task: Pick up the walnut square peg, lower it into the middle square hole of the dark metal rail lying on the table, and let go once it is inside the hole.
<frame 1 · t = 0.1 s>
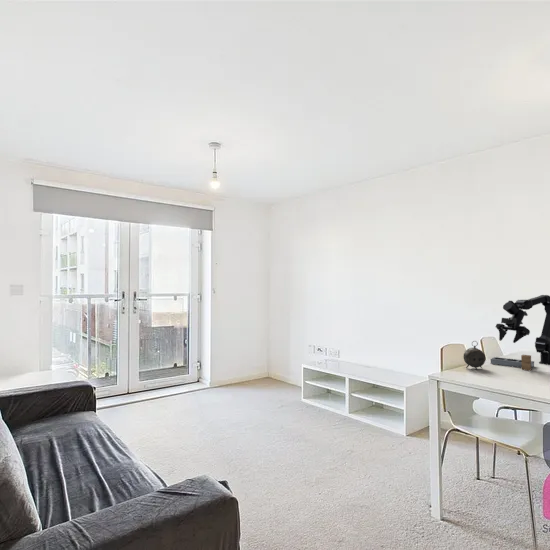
hand: (506, 341, 229), 15 cm above the table, tool tilted 30°, fingers open, 9 cm apart
square peg: (526, 369, 222), on the table
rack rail: (512, 365, 234), on the table
alarm clock: (475, 369, 224), on the table
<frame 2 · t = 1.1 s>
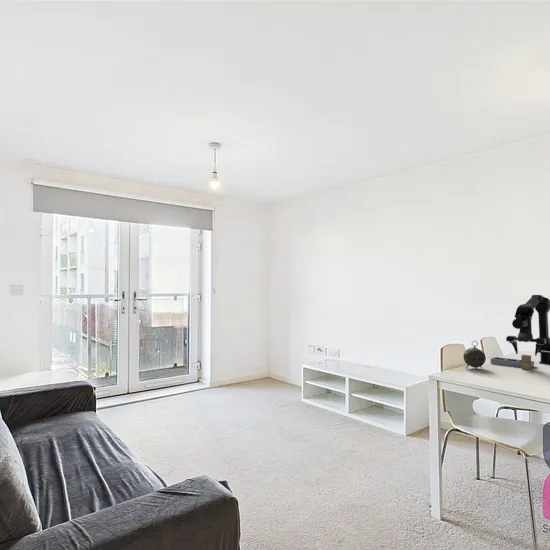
hand: (526, 354, 222), 8 cm above the table, tool pointing down, fingers open, 9 cm apart
nothing on the table moved.
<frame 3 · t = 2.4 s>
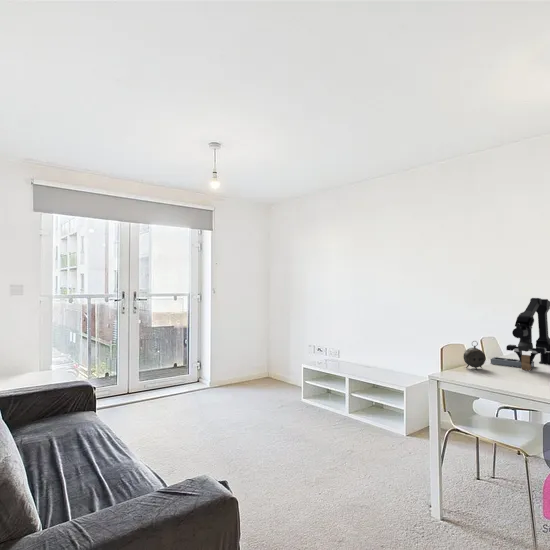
hand: (526, 364, 222), 3 cm above the table, tool pointing down, fingers closed on square peg, 4 cm apart
square peg: (526, 369, 222), on the table, touching gripper
everything else where it was.
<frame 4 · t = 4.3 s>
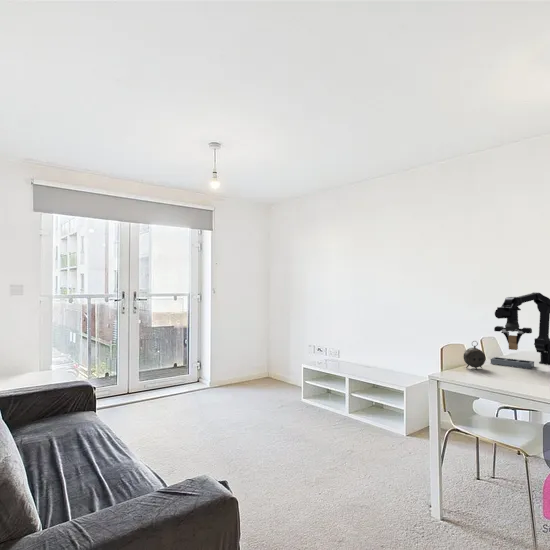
hand: (513, 344, 233), 13 cm above the table, tool pointing down, fingers closed on square peg, 4 cm apart
square peg: (513, 349, 233), point 10 cm above the table, touching gripper
everything else where it was.
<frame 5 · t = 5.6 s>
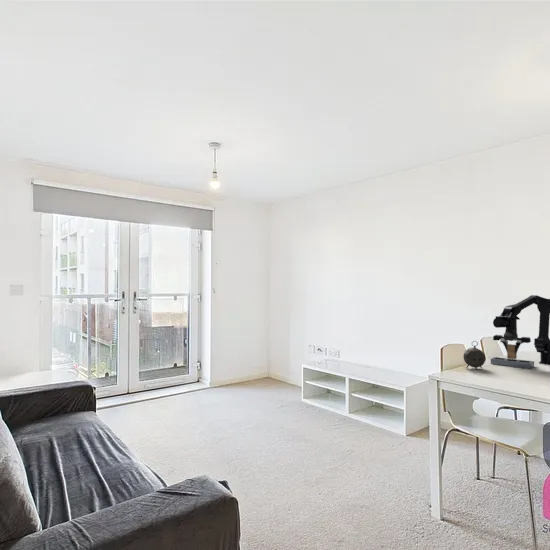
hand: (511, 353, 234), 7 cm above the table, tool pointing down, fingers closed on square peg, 4 cm apart
square peg: (511, 358, 234), point 4 cm above the table, touching gripper
everything else where it was.
when the fingers open (4 cm above the table, at t = 6.4 s): square peg drops 1 cm, resting in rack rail.
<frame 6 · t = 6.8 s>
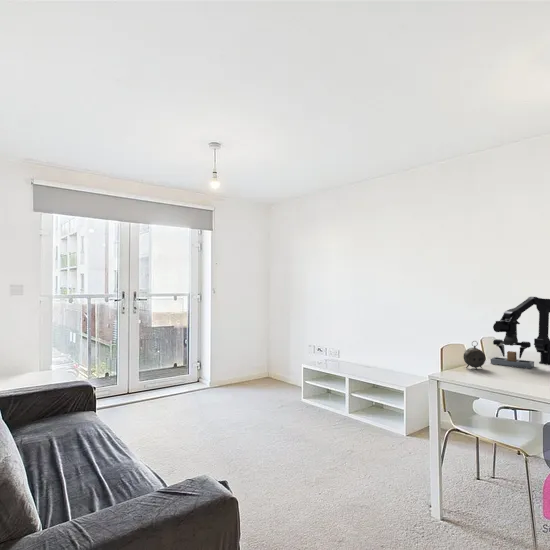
hand: (511, 357, 234), 4 cm above the table, tool pointing down, fingers open, 8 cm apart
square peg: (512, 365, 234), resting in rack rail
everything else where it was.
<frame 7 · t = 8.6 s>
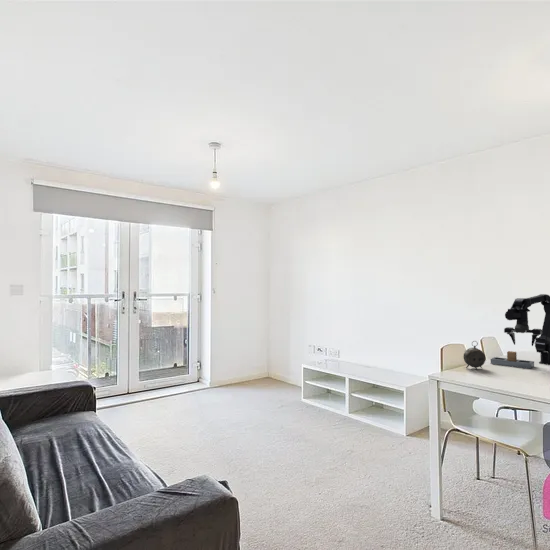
hand: (523, 345, 234), 12 cm above the table, tool pointing down, fingers open, 9 cm apart
nothing on the table moved.
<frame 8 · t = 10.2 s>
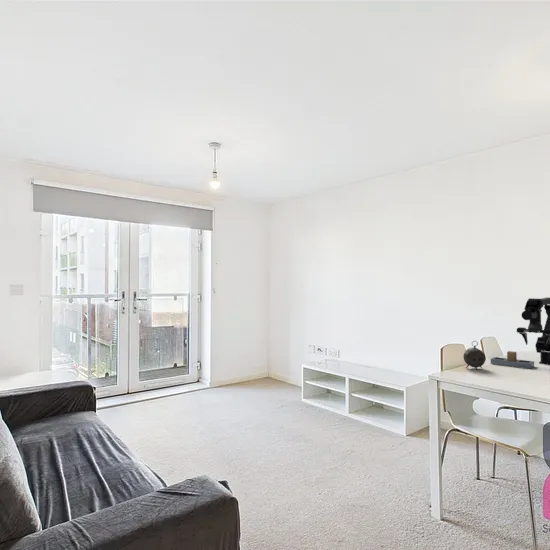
hand: (535, 345, 233), 12 cm above the table, tool pointing down, fingers open, 9 cm apart
nothing on the table moved.
at the end: square peg 0.0 cm off-centre on the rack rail, point 0.0 cm above the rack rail's base; square peg tilted 0°; the gripper is holding nothing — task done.
